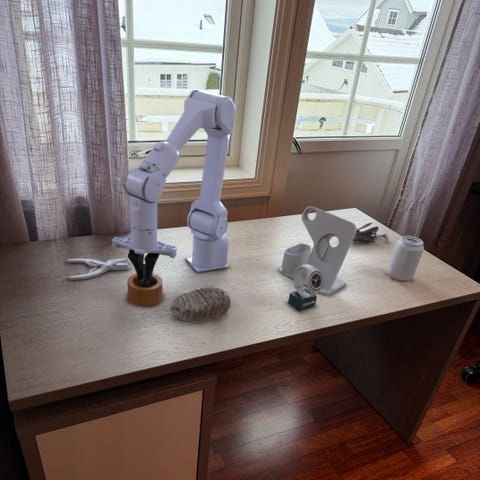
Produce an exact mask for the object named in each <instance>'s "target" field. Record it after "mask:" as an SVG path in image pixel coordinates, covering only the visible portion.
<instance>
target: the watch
mask: <svg viewBox="0 0 480 480" xmlns="http://www.w3.org/2000/svg"><path fill="white" fill-rule="evenodd" d="M302 268H305V269H306V270H307V271H306V274H307V277H306V285H307V286H306V285H305V286H306V287H304V284H303V283H302V275H301V269H302ZM323 279H324V278H323V276H322V274H321V273H320V272H319V271H318V270H317V268H315V267H314V266H312V265H310V264H305V265H302V266H299V267H297V268H296V269H295V271H294V275H293V285H294V286H293V287H294V289H295V291H292V292H289V295H288V300H287V304H288V305H289V306H290V307H292V308H293V309H295V310H296V311H297V312H298V313H301V312H303V311H306V310H308V309H311V308H314V307H315V306H316V303H317V299H318V294H320V293H319V291H320V290H321V288H322V286H323Z"/></svg>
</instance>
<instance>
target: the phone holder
mask: <svg viewBox="0 0 480 480" xmlns="http://www.w3.org/2000/svg"><path fill="white" fill-rule="evenodd" d="M311 211H314V212H315V217H314V218H313V219H310V218H309V213H311ZM301 221H302V223H303V225H304V227H305V228H306V231H307V232H308V235H309V236H310V238H311V240H312V242H313V247H311V245H309V244H307V243H297V244H294V245H293V246H290V247H288V248H286V249H285V250H284V251H283V258H282V263H281V267H280V268H279V273H281V274H283V275H285V276H287V277H289V278H290V279H293V275H294V271H295V269H296V268H297V267H299V266H302V265H305V264H310V265H312V266H314V267H315V268H317V270H318V271H319V272H320V273H321V274H322V276H323V278H324V279H323V286H322V288H321V290H320V291H319V293H318V294H321V295H323V296H330V295H331V294H334V293H335V292H336V291H338V290H341V288H343V287H344V286H345V281H344V280H342V279H340V278H338V275H339V273H340V271H341V269H342V265H343V263H344V261H345V259H346V257H347V255H348V252H349V250H350V248H351V245H352V243H353V239H354V236H355V234H356V231H357V229H358V228H357V225H356V224H355V223H354V222H352V221H350V220H347V219H346V218H345V219H344V218H342V217H340V216H338V215H335V214H332V213H330V212H328V211H326V210H324V209H323V210H322V209H320V208H317V207H315V206H312V205H310V206H307V207H306V208H304V210H303V211H302V214H301ZM332 238H337V239H338V244H337V245H336V246H332V245H331V243H330V242H331V240H332ZM306 271H307V270H306V269H305V268H302V269H301V275H302V283H303V286H306V287H307V285H306V277H307V274H306Z"/></svg>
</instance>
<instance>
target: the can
mask: <svg viewBox="0 0 480 480" xmlns="http://www.w3.org/2000/svg"><path fill="white" fill-rule="evenodd" d="M424 245H425V244H424V241H423V240H422V239H421V238H418V237H416V236H414V235H403V236H401V238H400V239H399V240H397V242H396V244H395V248H394V251H393V254H392V256H391V259H390V262H389V266H388V268H387V274H388V275H389V276H390V277H391V279H394V280H395V281H397V282H408V281H411V280H413V278H414V276H415V275H416V271H417V268H418V266H419V263H420V261H421V258H422V256H423V252H424V251H425V246H424Z"/></svg>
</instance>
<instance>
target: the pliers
mask: <svg viewBox="0 0 480 480" xmlns="http://www.w3.org/2000/svg"><path fill="white" fill-rule="evenodd" d="M66 260H67V264H86V265H87V266H89V267H91V269H90V270H89V271H88V272H87V273H83V274H77V275H69V276H68V280H70V281H79V280H87V279H92V278H95V277H98V276H100V275H102V274H104V273H107V272H108V271H126V270H127V271H128V270H129V263H128V258H126V257H124V258H112V259H107V262H106V261H101V260H99V259H93V258H84V257H83V258H71V259H70V258H69V259H66ZM98 267H100V268H98Z"/></svg>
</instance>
